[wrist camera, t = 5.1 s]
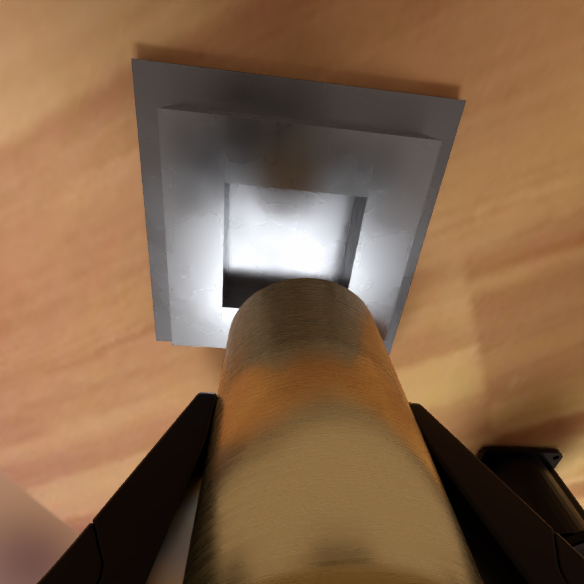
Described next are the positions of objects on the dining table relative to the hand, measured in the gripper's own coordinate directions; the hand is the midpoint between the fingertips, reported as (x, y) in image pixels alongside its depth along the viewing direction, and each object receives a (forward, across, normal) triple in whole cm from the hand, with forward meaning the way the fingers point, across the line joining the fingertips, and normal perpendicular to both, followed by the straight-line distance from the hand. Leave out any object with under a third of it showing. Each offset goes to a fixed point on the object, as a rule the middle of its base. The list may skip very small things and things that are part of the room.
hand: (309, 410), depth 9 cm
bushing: (+2, 0, 0) cm, 3 cm away
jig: (+12, 0, 0) cm, 12 cm away
